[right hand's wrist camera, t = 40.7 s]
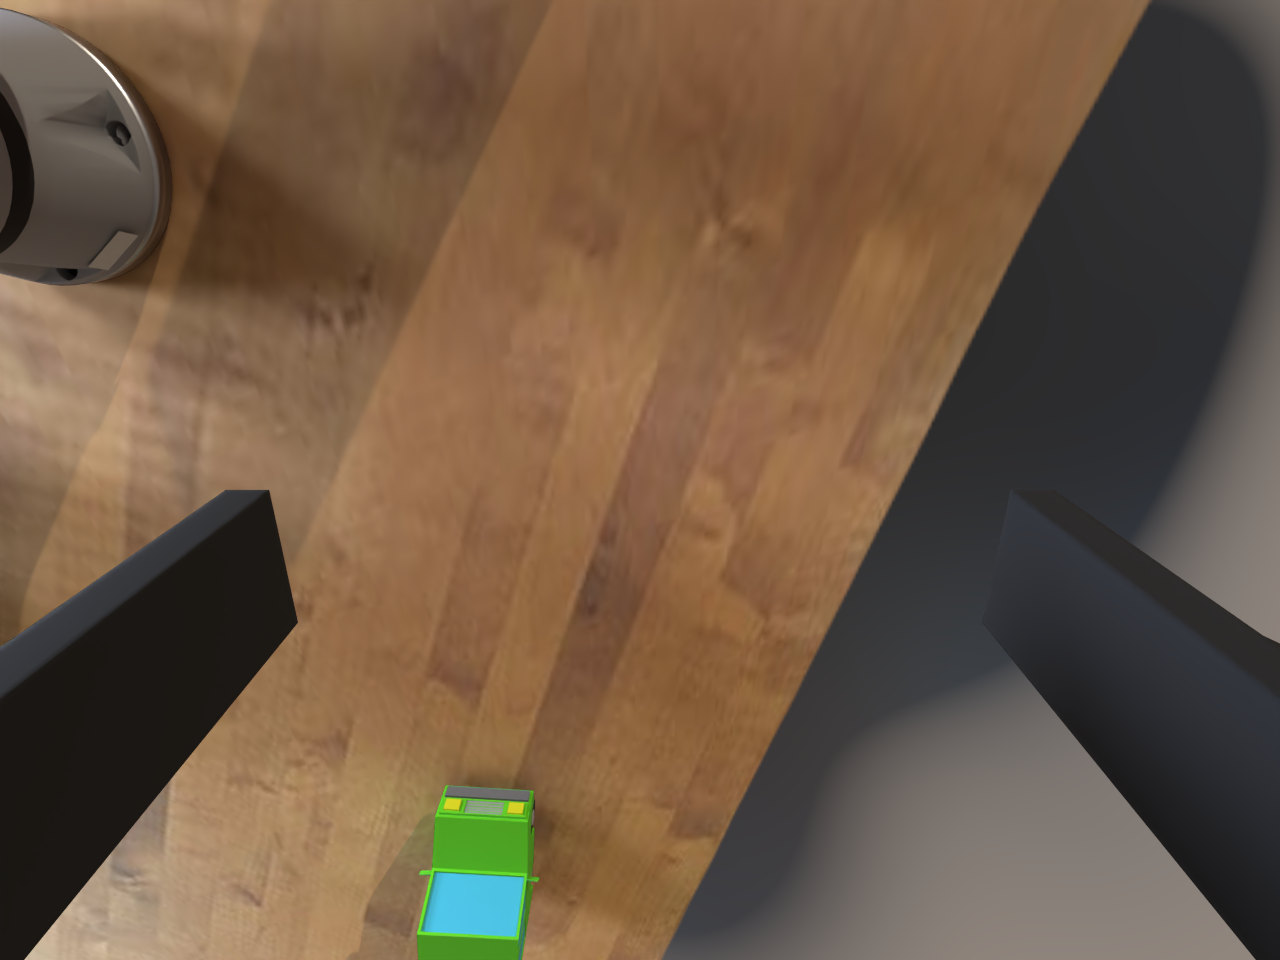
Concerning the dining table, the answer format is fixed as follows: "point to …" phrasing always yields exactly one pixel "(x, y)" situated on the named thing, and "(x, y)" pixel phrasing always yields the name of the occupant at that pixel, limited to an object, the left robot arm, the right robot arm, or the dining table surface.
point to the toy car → (479, 876)
